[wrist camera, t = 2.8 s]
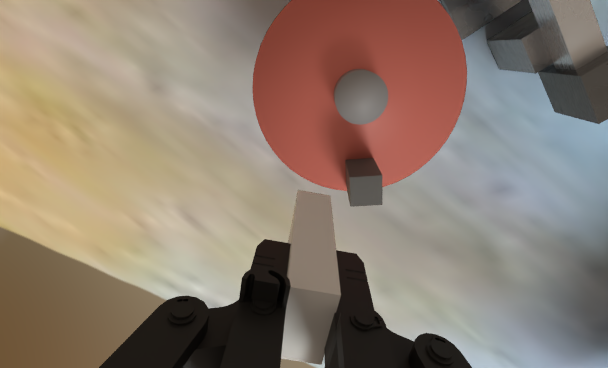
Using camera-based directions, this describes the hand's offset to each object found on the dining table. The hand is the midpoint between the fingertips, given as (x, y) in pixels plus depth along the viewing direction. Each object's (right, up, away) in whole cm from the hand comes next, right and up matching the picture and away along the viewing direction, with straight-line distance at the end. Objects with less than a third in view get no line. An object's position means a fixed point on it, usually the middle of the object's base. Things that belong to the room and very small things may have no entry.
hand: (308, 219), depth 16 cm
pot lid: (+3, +8, +8) cm, 12 cm away
